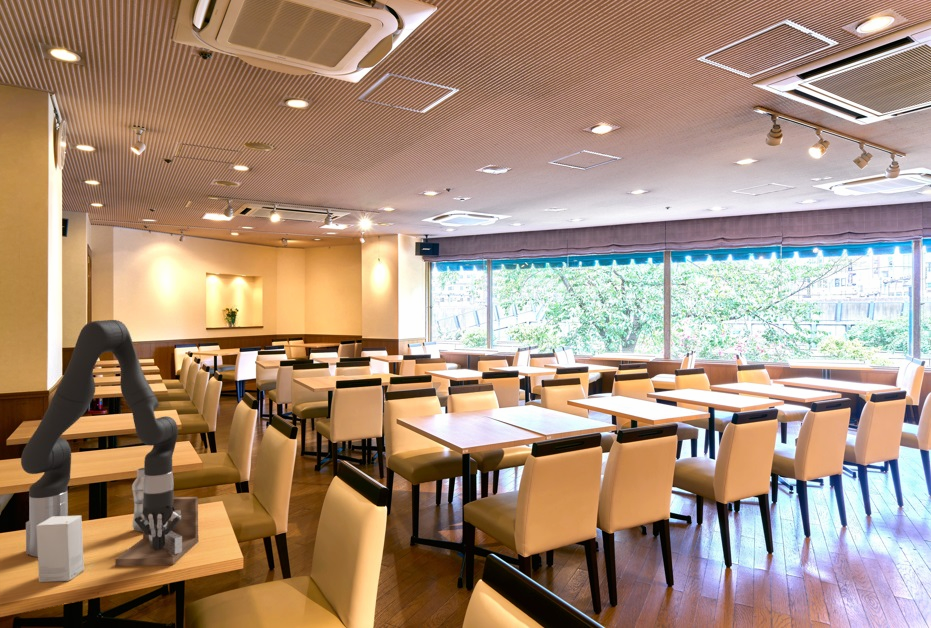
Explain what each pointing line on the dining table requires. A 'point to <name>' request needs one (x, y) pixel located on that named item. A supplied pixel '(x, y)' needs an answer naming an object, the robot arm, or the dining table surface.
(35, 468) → the robot arm
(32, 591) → the dining table surface
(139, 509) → the plastic bottle
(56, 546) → the skincare box
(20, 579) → the dining table surface
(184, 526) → the stand
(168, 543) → the lever
